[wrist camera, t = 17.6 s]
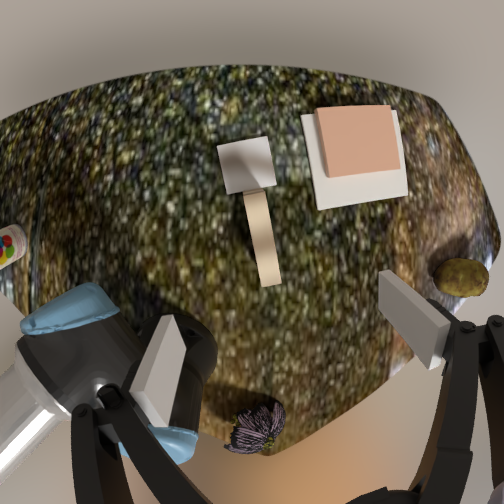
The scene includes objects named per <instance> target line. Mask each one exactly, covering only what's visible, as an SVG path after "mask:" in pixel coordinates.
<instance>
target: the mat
mask: <svg viewBox="0 0 504 504" xmlns="http://www.w3.org/2000/svg"><path fill="white" fill-rule="evenodd" d="M391 112H392V117H393V122H394V128H395V133H396V139H397V146H398V152H399V160H400V168H401V169H396V170H387V171H378V172H370V173H362V174H355V175H347V176H340V177H333V178H327V176H326V170H325V164H324V158H323V153H322V147H321V142H320V137H319V132H318V127H317V122H316V117H315V114H307V115H301V116H300V117H301V121H302V126H303V131H304V136H305V141H306V146H307V152H308V157H309V162H310V168H311V174H312V180H313V186H314V192H315V199H316V206H317V210H322V209H328V208H333V207H339V206H345V205H351V204H357V203H362V202H368V201H375V200H381V199H387V198H393V197H400V196H406V195H408V190H407V179H406V169H405V161H404V153H403V146H402V140H401V134H400V128H399V123H398V118H397V113H396V110H391Z"/></svg>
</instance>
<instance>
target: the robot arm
mask: <svg viewBox="0 0 504 504" xmlns="http://www.w3.org/2000/svg"><path fill="white" fill-rule="evenodd" d="M378 309H379V310H380V311H381V313H382V314H383V315H384V316H385V317H386V318H387V320H388V321H389V322H390V323H391V324H392V326H393V327H394V328H395V329H396V330H397V332H398V333H399V334H400V335H401V336H402V338H403V339H404V340H405V341H406V343H407V344H408V345H409V346H410V348H411V349H412V350H413V351H414V353H415V354H416V355H417V356H418V358H419V359H420V360H421V362H422V363H423V364H424V365H425V367H426V368H427V369H428V370H431V369H433V368H435V367H437V366H439V365H440V363H441V359H442V357H443V358H444V359H445V360H446V364H445V366H444V369H443V372H442V376H443V380H442V385H441V390H440V395H439V400H438V405H437V409H436V413H435V418H434V421H433V425H432V428H431V432H430V436H429V439H428V442H427V445H426V448H425V452H424V454H423V457H422V460H421V463H420V466H419V468H418V471H417V473H416V476H415V478H414V480H413V481H412V483H411V485H410V487H409V489H408V491H407V490H389V491H388V490H387V487H383V488H381V489H378V490H375V491H373V492H370V493H367V494H364V495H361V496H359V497H357V498H355V499H353V500H351V501H350V502H348V503H346V504H460V501H461V498H462V495H463V492H464V489H465V485H466V482H467V478H468V474H469V471H470V466H471V462H472V457H473V452H472V451H470V444H471V438H472V433H473V427H474V419H475V411H476V403H477V390H478V374H479V377H480V382H481V386H482V391H483V396H484V401H485V407H486V413H487V420H488V427H489V435H490V446H491V465H492V480H493V486H494V491H493V492H492V494H491V497H490V500H489V501H488V504H504V318H503V317H502V316H499V315H492V316H490V317H489V318H488V320H487V324H486V325H482V326H476V325H475V324H474V323H472V322H469V321H461V322H460V321H459V320H458V319H456V317H454V316H453V315H452V314H451V313H450V312H449V311H448V310H446V309H445V308H444V307H442V305H441V304H439V303H438V302H437V301H435V300H432V299H430V298H429V299H426V300H425V299H424V298H423V297H422V296H420V295H419V294H418V293H417V292H416V291H414V290H413V289H412V288H411V287H410V286H409V285H407V284H406V283H405V282H404V281H402V280H401V279H400V278H399V277H398V276H396V275H395V274H394V273H393V272H391V271H390V270H385V271H381V272H379V304H378ZM119 311H120V309H119V307H118V306H115V305H114V303H113V302H112V301H111V300H110V298H109V297H108V296H107V294H106V293H105V292H104V290H103V289H102V288H101V287H100V286H99V285H98V284H96V283H92V282H87V283H84V284H81V285H79V286H77V287H75V288H73V289H71V290H69V291H67V292H65V293H64V294H62V295H60V296H58V297H56V298H55V299H53V300H51V301H50V302H48V303H46V304H45V305H43V306H42V307H40V308H38V309H37V310H35V311H34V312H33V313H31V314H30V315H28V316H26V317H25V318H24V319H23V320H22V321H21V322H20V328H21V332H22V333H23V334H25V335H24V336H23V337H21V338H20V340H18V341H17V342H16V343H15V361H14V364H13V365H11V366H10V367H9V368H8V369H7V370H6V371H5V372H4V373H3V374H2V375H1V376H0V485H1V484H2V483H3V482H4V481H5V480H6V479H7V478H8V477H9V476H10V475H11V474H12V473H13V472H14V471H15V469H16V468H17V467H18V466H19V465H20V464H21V463H22V462H23V461H24V460H25V459H26V458H27V457H28V456H29V455H30V454H31V453H32V452H33V451H34V450H35V449H36V448H37V447H38V446H39V445H40V444H41V443H42V442H43V441H44V440H45V439H46V438H47V437H48V436H49V435H50V434H51V433H52V432H53V431H54V430H55V429H56V428H57V427H58V426H59V425H60V424H61V423H62V422H63V421H67V420H68V421H71V449H72V450H71V452H72V469H73V479H74V488H75V496H76V503H77V504H134V502H133V499H132V496H131V493H130V489H129V486H128V482H127V478H126V475H125V471H124V467H123V462H122V458H121V454H122V455H124V456H126V457H128V458H130V459H131V461H132V462H133V464H134V466H135V467H136V469H137V470H138V472H139V474H140V475H141V476H142V478H143V480H144V481H145V482H146V484H147V486H148V487H149V489H150V490H151V491H152V493H153V494H154V496H155V497H156V498H157V500H158V501H159V502H160V504H213V503H211V501H210V500H208V498H207V497H206V496H205V495H204V494H203V493H201V491H200V490H199V489H198V488H197V487H196V486H195V485H194V484H193V483H192V482H191V480H189V478H188V477H187V476H186V475H185V474H184V473H183V472H182V470H181V469H180V468H179V467H178V465H177V464H180V463H184V462H186V461H187V460H189V459H190V458H191V457H192V455H193V454H194V451H195V445H196V441H197V439H198V428H199V419H200V409H201V400H202V392H203V386H204V385H205V383H206V382H207V380H208V378H209V377H210V375H211V374H212V373H213V371H214V369H215V367H216V363H217V355H218V349H217V344H216V341H215V339H214V337H213V336H212V334H211V333H210V332H209V331H208V330H207V329H206V328H205V327H204V326H203V325H202V324H200V323H199V322H197V321H196V320H194V319H192V318H189V317H187V316H184V315H180V314H173V313H165V314H158V315H155V316H153V317H150V318H149V319H147V320H146V321H145V322H144V323H143V324H142V325H141V327H140V328H139V330H138V332H137V334H136V333H135V332H134V331H133V329H132V328H131V327H130V325H129V324H128V323H127V321H126V320H125V319H124V317H123V316H122V314H121V313H120V312H119Z"/></svg>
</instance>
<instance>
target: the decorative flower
mask: <svg viewBox="0 0 504 504" xmlns="http://www.w3.org/2000/svg"><path fill="white" fill-rule="evenodd" d="M285 416H286V414H285V410H284V408H283V405H282V404H281V403H280V402H279V401H275V403H274V413H273V418H272V417H271V414H270V412H269V411H268V409H267V408H266V406H265V405H264V404H263V403H262V402H261V404H259V403H258V405H256V407H254V409H252V410H251V409H249V410H248V409H246V408H244V409H242V410H240V411H239V412H237V414H233V416H232V417H233V418H237V419H234V420H233V419H232V420H231V421H230V423H231V424H234V423H235V421H237V422H236V426H233V428H234V429H233V430H234V431H233V432H232V433H230V434H231V435H232V436H231V437H230V438H231V444H228V445H226V444H225V445H224V448H226V449H228V450H229V451H232V452H235V453H239V454H253V453H256V452H260V451H261V450H263V449H266V448H268V449H269V448H271V447H272V446H274V442H275V439H276V437H277V436H278V435H279V434H280V432H281V431H282V429H283V427H284V424H285ZM240 425H241V426H242V427H239V426H240Z"/></svg>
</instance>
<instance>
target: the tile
mask: <svg viewBox="0 0 504 504" xmlns="http://www.w3.org/2000/svg"><path fill="white" fill-rule="evenodd" d="M314 112H315V117H316V122H317V127H318V132H319V137H320V142H321V147H322V153H323V158H324V164H325V170H326V176H327V178H333V177H340V176H347V175H355V174H362V173H370V172H378V171H387V170H396V169H401V168H400V160H399V152H398V146H397V139H396V133H395V128H394V122H393V117H392V112H391V108H390V105H362V106H339V107H324V108H316V109H315V110H314Z"/></svg>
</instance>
